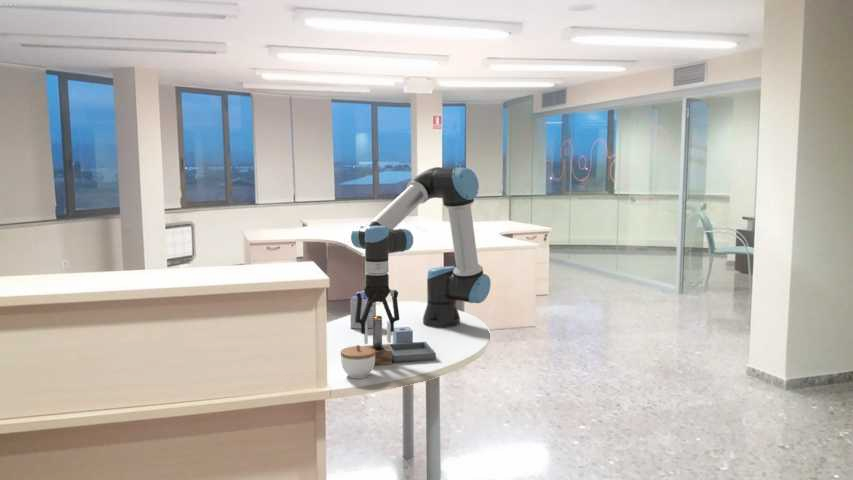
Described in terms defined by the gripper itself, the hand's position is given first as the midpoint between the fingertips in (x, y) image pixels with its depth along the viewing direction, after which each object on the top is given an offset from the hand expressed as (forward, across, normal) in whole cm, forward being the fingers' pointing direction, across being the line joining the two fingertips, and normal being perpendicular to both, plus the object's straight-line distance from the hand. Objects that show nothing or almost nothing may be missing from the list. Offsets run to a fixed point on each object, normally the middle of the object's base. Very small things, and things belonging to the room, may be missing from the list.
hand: (377, 342), depth 213 cm
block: (+7, +12, +17) cm, 22 cm away
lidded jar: (+7, -8, -12) cm, 16 cm away
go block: (+7, 0, 0) cm, 7 cm away
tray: (+7, +12, +4) cm, 14 cm away
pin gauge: (+5, 0, 0) cm, 5 cm away
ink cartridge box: (+7, +2, +46) cm, 47 cm away
